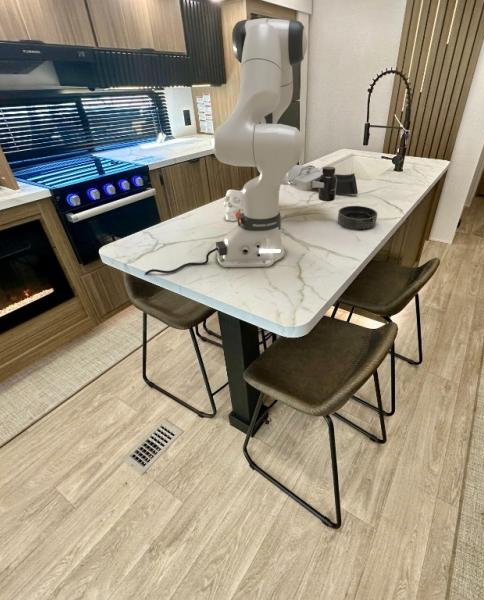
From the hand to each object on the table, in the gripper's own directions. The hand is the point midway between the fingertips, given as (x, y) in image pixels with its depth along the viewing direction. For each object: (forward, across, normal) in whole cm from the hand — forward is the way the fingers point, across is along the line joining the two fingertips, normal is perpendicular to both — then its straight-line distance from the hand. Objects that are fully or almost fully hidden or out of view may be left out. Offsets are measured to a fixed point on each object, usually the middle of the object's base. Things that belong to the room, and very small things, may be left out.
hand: (329, 182), depth 126 cm
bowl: (+12, +3, +15) cm, 19 cm away
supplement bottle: (-1, 0, +7) cm, 7 cm away
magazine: (-18, +31, +15) cm, 39 cm away
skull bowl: (-33, -18, +15) cm, 41 cm away
